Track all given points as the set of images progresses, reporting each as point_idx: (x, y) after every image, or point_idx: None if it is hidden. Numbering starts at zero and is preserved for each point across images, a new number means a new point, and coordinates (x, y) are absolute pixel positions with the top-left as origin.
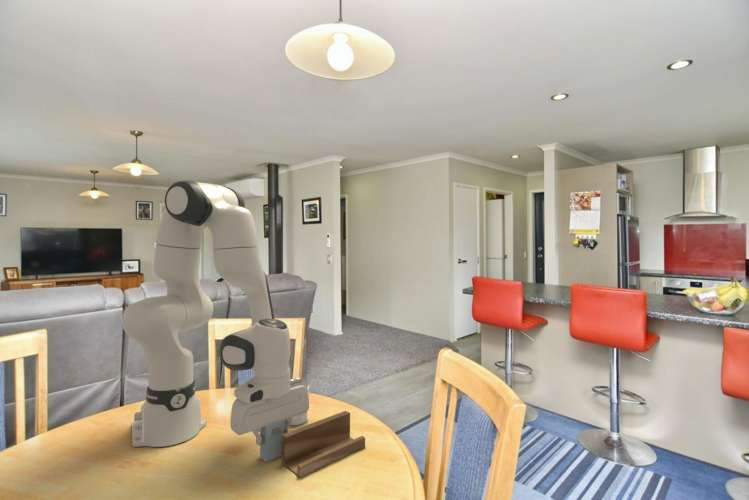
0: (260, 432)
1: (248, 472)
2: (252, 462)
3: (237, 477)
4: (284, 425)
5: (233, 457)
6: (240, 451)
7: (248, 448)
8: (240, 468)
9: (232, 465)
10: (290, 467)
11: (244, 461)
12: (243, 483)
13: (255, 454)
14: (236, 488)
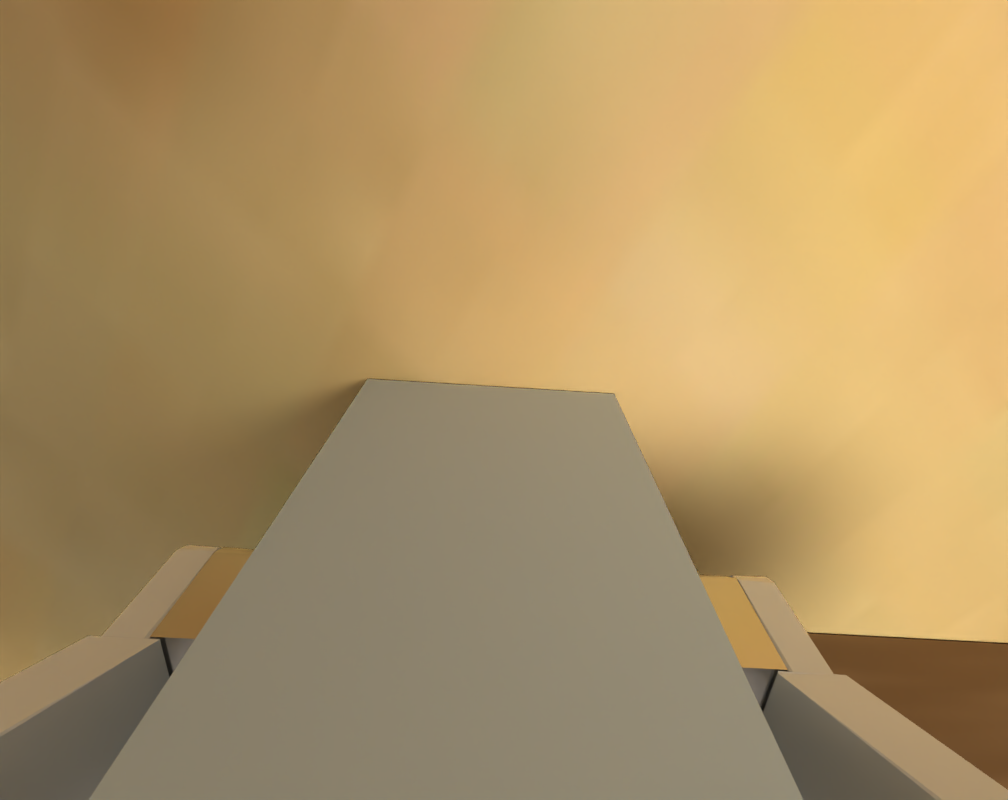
0: (215, 633)
1: (155, 535)
2: (251, 413)
3: (38, 533)
4: (812, 760)
5: (69, 118)
6: (205, 21)
7: (342, 31)
8: (99, 423)
9: (23, 303)
10: None
11: (177, 328)
12: (72, 632)
13: (352, 281)
14: (3, 647)
